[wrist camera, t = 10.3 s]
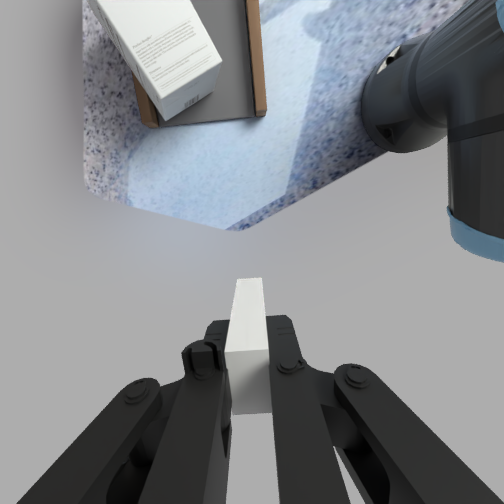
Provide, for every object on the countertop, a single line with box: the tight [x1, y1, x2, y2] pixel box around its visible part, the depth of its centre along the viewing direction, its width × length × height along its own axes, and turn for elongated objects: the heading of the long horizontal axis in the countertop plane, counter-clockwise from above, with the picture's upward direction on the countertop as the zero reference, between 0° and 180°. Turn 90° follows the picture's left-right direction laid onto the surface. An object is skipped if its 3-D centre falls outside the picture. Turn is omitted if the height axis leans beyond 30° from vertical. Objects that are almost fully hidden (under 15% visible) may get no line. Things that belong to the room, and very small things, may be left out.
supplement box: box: [87, 0, 222, 121], centre depth 29 cm, size 9×9×15 cm
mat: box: [157, 0, 255, 127], centre depth 35 cm, size 15×16×1 cm
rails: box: [131, 0, 267, 128], centre depth 34 cm, size 18×16×3 cm
